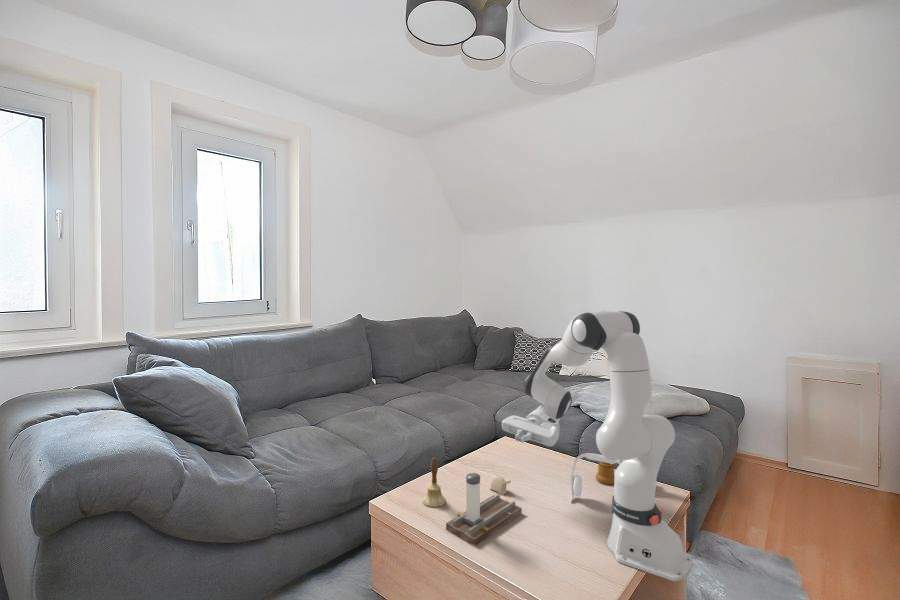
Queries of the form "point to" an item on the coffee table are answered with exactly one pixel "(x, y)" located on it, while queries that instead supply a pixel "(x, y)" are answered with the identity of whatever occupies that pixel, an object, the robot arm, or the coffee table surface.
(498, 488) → the decorative ornament
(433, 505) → the hand bell
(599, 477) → the ornamental finial
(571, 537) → the coffee table surface
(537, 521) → the coffee table surface
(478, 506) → the fader tab
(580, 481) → the headset
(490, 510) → the fader track
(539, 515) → the coffee table surface
